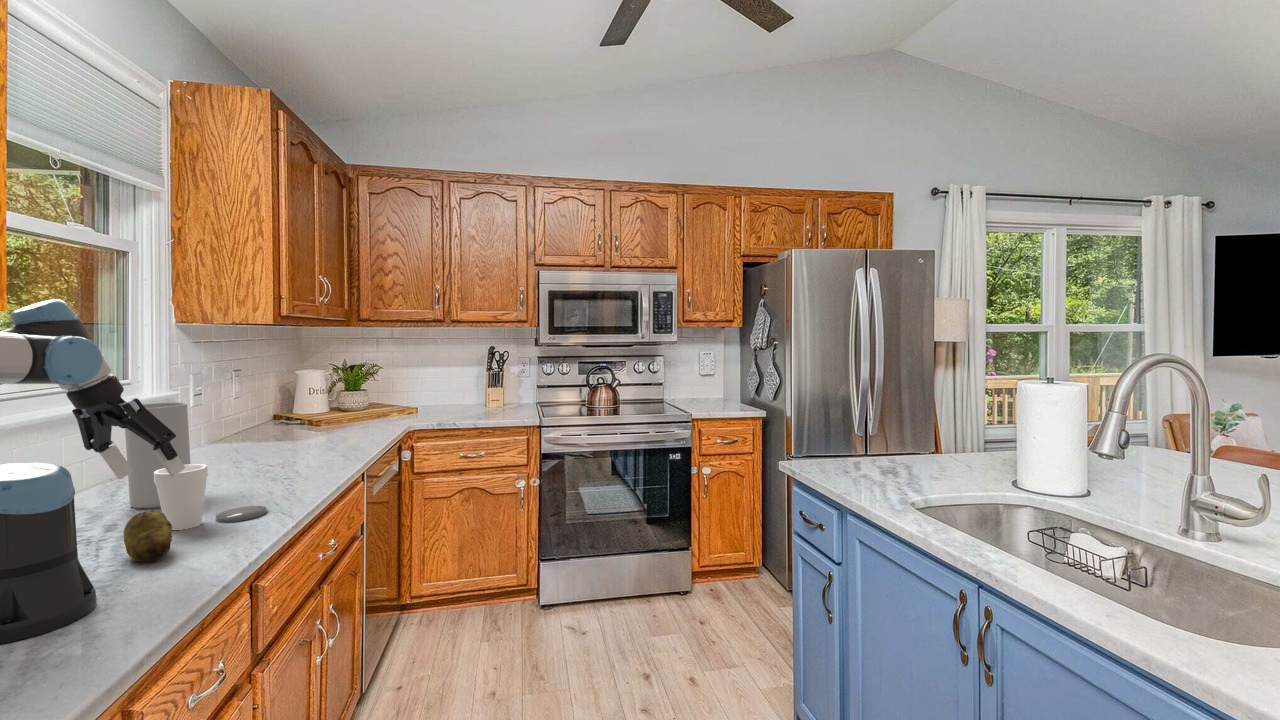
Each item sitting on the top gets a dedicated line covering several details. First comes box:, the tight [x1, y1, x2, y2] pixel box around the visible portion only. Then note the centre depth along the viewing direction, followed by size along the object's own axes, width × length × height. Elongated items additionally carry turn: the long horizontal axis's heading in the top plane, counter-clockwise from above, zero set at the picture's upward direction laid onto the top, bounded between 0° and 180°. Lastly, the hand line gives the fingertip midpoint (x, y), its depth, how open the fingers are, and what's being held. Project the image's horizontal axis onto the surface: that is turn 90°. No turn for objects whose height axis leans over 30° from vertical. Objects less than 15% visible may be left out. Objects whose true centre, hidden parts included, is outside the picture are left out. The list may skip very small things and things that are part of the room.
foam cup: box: [154, 463, 209, 531], centre depth 133 cm, size 10×9×13 cm
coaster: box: [215, 505, 268, 523], centre depth 140 cm, size 10×10×1 cm
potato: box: [123, 510, 173, 563], centre depth 115 cm, size 8×13×8 cm, turn 29°
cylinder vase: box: [124, 401, 192, 509], centre depth 152 cm, size 12×12×25 cm
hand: (151, 473), depth 118 cm, fingers open, 13 cm apart
